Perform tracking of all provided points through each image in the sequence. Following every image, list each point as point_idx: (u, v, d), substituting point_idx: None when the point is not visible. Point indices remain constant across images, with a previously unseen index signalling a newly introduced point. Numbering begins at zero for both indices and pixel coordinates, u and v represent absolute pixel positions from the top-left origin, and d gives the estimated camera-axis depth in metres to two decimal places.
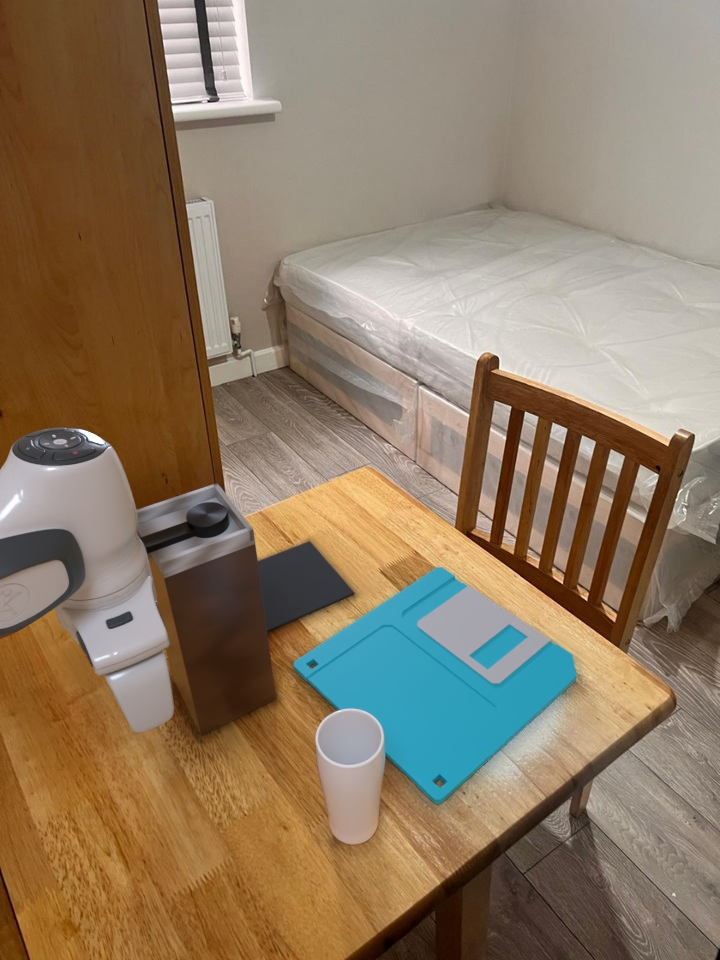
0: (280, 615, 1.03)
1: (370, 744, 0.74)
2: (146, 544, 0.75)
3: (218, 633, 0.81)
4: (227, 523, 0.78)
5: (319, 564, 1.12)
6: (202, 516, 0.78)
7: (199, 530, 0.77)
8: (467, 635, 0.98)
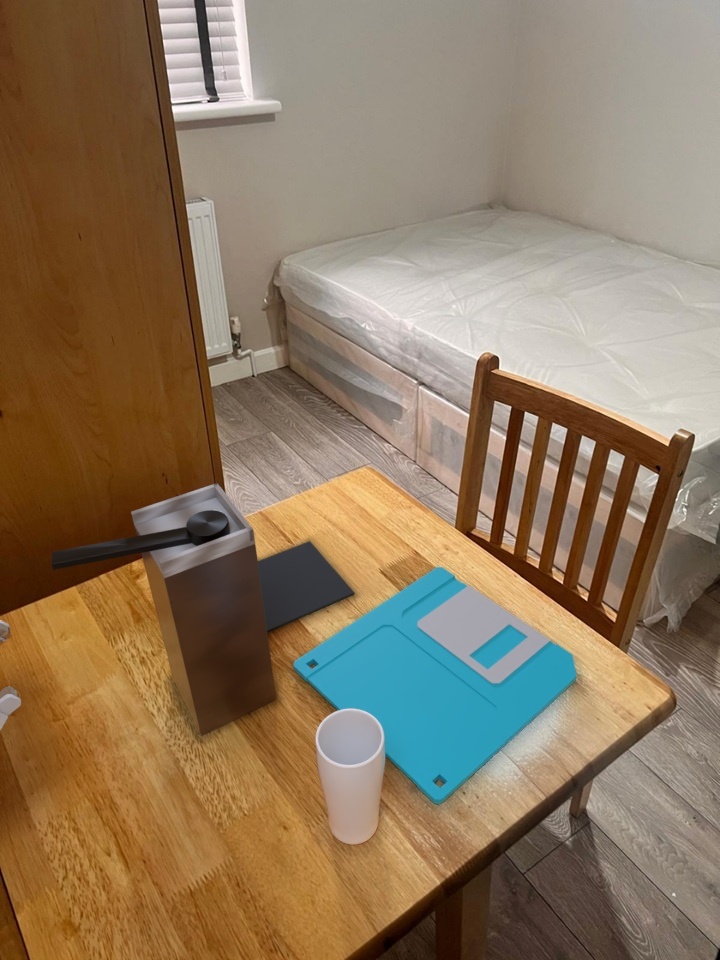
0: (280, 615, 1.03)
1: (370, 744, 0.74)
2: (141, 543, 0.75)
3: (218, 633, 0.81)
4: (225, 535, 0.77)
5: (319, 564, 1.12)
6: (201, 524, 0.77)
7: (195, 538, 0.76)
8: (467, 635, 0.98)
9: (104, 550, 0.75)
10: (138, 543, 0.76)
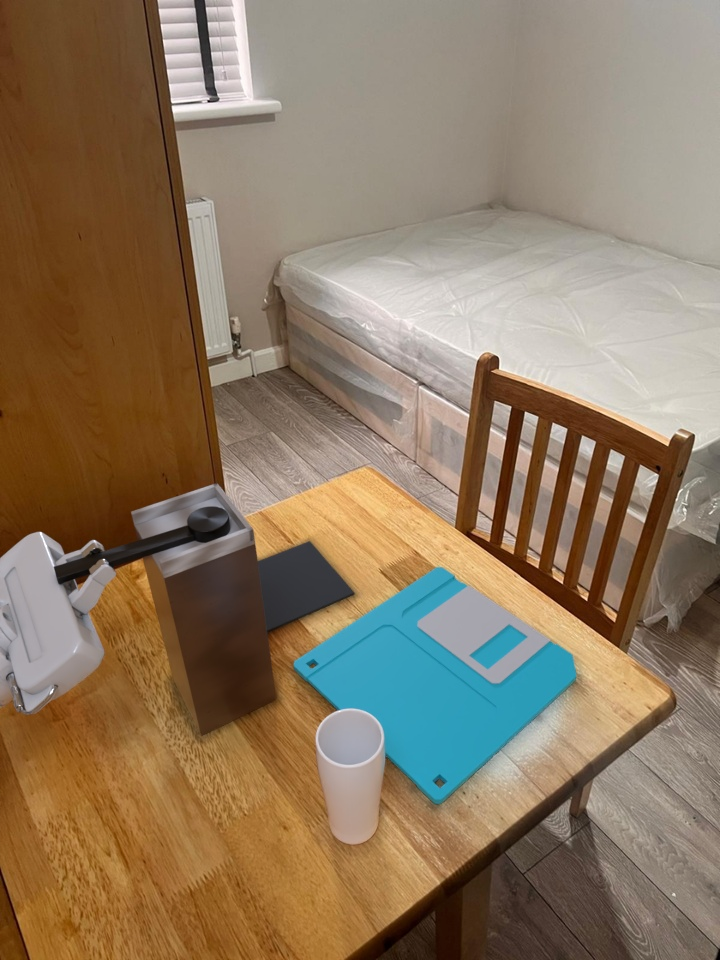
0: (280, 615, 1.03)
1: (370, 744, 0.74)
2: (145, 547, 0.75)
3: (218, 633, 0.81)
4: (228, 528, 0.78)
5: (319, 564, 1.12)
6: (202, 521, 0.77)
7: (199, 535, 0.76)
8: (467, 635, 0.98)
9: (109, 557, 0.74)
10: (142, 547, 0.75)
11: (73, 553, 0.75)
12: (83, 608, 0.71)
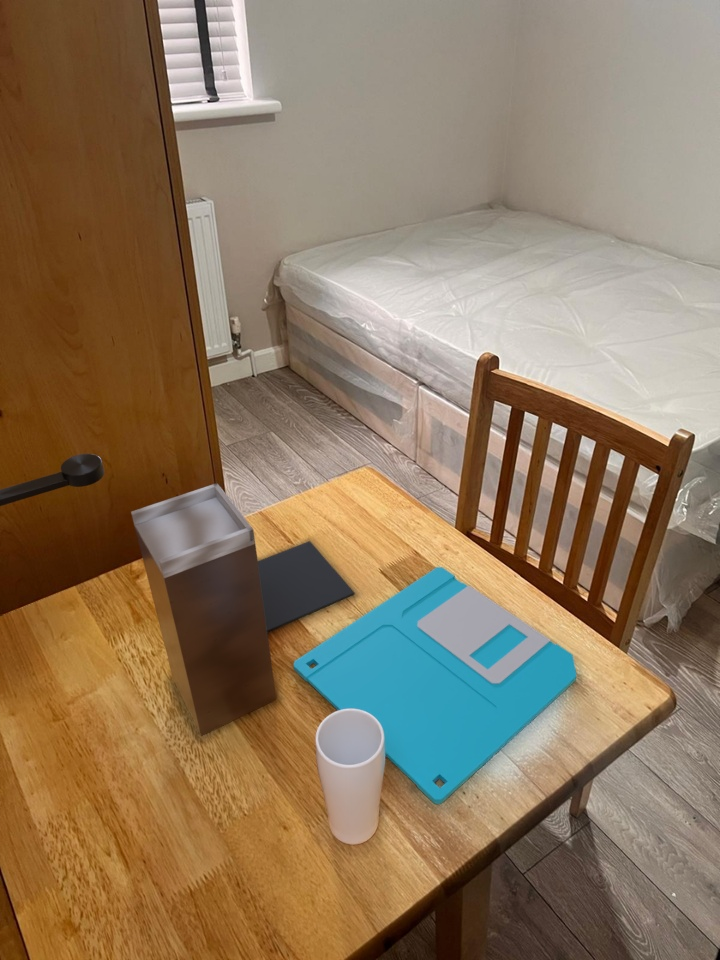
0: (280, 615, 1.03)
1: (370, 744, 0.74)
2: (18, 491, 0.79)
3: (218, 633, 0.81)
4: (101, 473, 0.82)
5: (319, 564, 1.12)
6: (75, 466, 0.81)
7: (71, 479, 0.80)
8: (467, 635, 0.98)
9: None
10: (15, 491, 0.79)
11: None
12: None
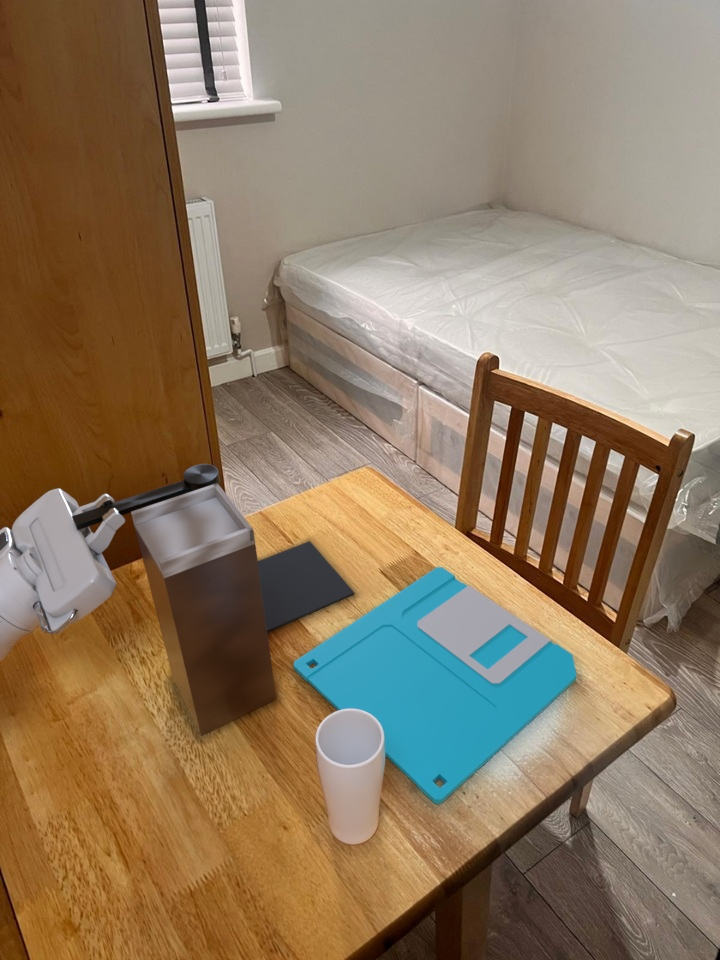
0: (280, 615, 1.03)
1: (370, 744, 0.74)
2: (148, 498, 0.88)
3: (218, 633, 0.81)
4: (218, 482, 0.92)
5: (319, 564, 1.12)
6: (196, 476, 0.91)
7: (194, 487, 0.90)
8: (467, 635, 0.98)
9: (119, 507, 0.87)
10: (146, 498, 0.88)
11: (88, 505, 0.88)
12: (97, 549, 0.85)
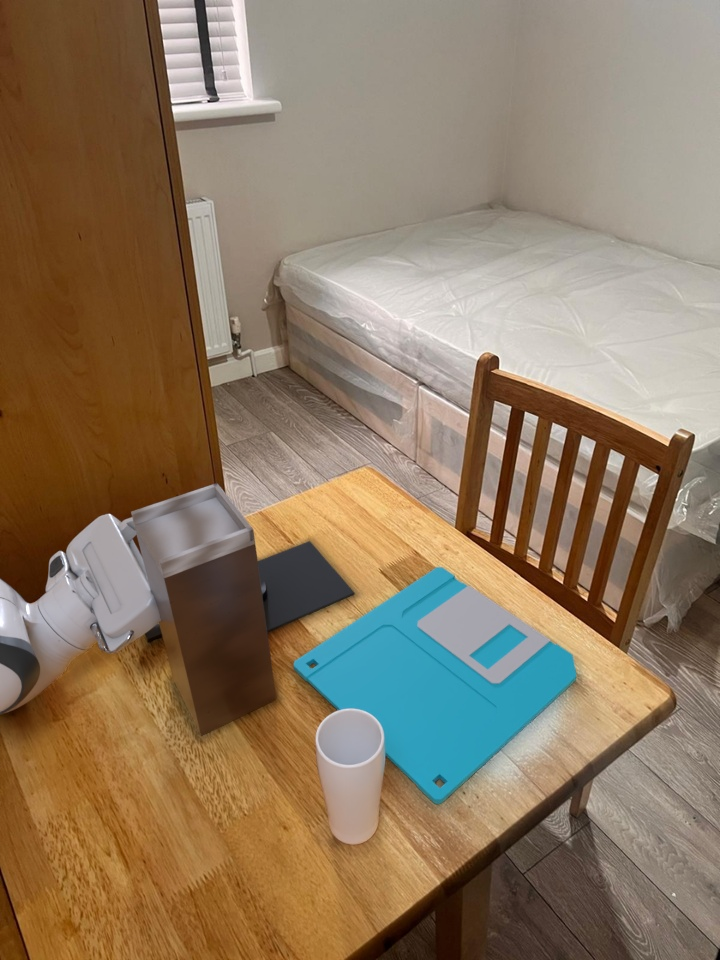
0: (280, 615, 1.03)
1: (370, 744, 0.74)
2: None
3: (218, 633, 0.81)
4: (266, 595, 1.06)
5: (319, 564, 1.12)
6: None
7: None
8: (467, 635, 0.98)
9: None
10: None
11: (132, 518, 0.96)
12: None
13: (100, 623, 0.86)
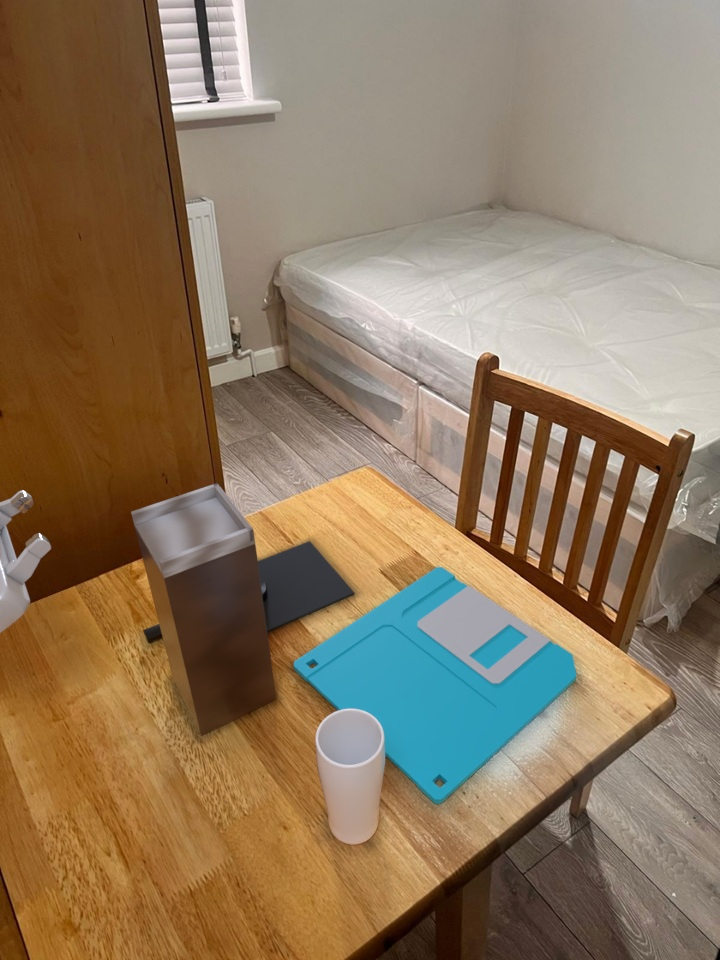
0: (280, 615, 1.03)
1: (370, 744, 0.74)
2: None
3: (218, 633, 0.81)
4: (266, 595, 1.06)
5: (319, 564, 1.12)
6: None
7: None
8: (467, 635, 0.98)
9: None
10: None
11: (4, 502, 0.84)
12: (18, 579, 0.76)
13: None
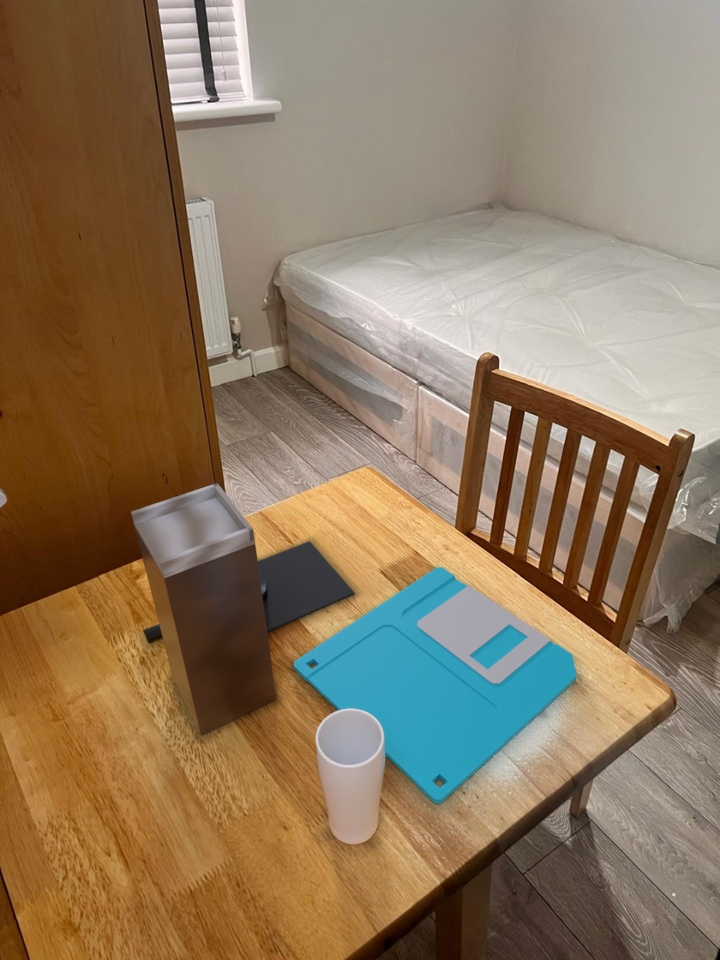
0: (280, 615, 1.03)
1: (370, 744, 0.74)
2: None
3: (218, 633, 0.81)
4: (266, 595, 1.06)
5: (319, 564, 1.12)
6: None
7: None
8: (467, 635, 0.98)
9: None
10: None
11: None
12: None
13: None
